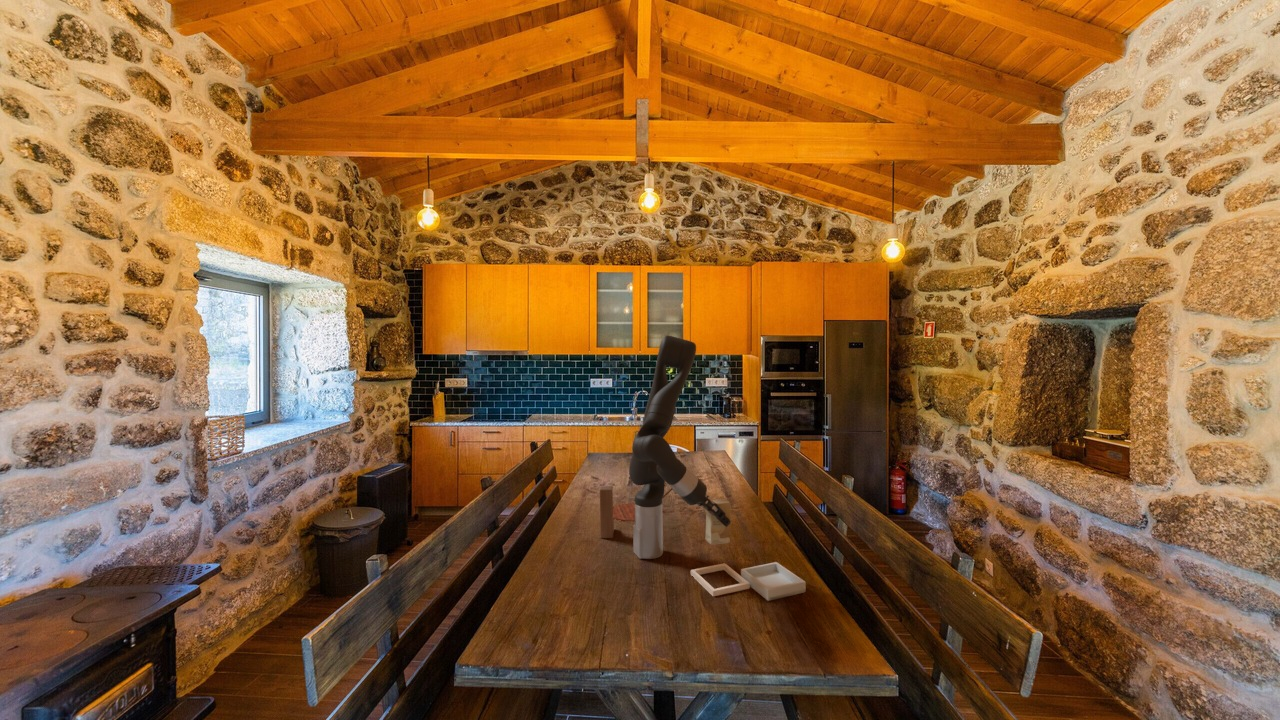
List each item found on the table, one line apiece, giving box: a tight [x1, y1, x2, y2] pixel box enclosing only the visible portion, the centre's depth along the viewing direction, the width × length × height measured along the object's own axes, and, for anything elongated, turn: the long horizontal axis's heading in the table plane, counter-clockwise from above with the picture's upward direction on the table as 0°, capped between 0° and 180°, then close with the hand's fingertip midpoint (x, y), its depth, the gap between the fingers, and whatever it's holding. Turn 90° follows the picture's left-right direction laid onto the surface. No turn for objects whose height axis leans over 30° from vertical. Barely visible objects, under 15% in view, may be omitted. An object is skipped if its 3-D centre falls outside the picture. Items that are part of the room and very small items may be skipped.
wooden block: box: [599, 485, 615, 539], centre depth 186 cm, size 9×4×18 cm, turn 1°
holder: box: [690, 563, 751, 597], centre depth 149 cm, size 12×14×2 cm
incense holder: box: [613, 487, 674, 522], centre depth 209 cm, size 21×30×11 cm
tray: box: [740, 561, 807, 602], centre depth 146 cm, size 13×14×3 cm
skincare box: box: [704, 497, 732, 545], centre depth 148 cm, size 6×4×12 cm
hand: (723, 520), depth 148 cm, fingers closed on skincare box, 4 cm apart
